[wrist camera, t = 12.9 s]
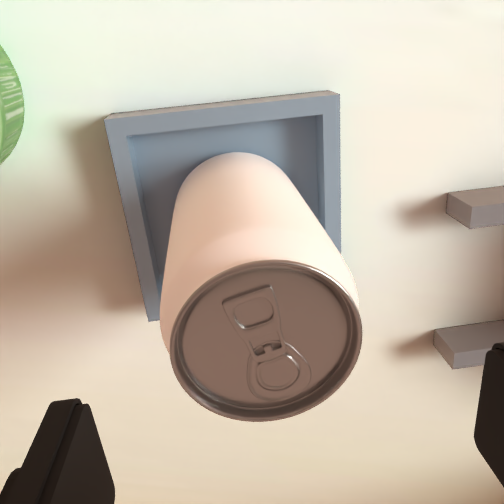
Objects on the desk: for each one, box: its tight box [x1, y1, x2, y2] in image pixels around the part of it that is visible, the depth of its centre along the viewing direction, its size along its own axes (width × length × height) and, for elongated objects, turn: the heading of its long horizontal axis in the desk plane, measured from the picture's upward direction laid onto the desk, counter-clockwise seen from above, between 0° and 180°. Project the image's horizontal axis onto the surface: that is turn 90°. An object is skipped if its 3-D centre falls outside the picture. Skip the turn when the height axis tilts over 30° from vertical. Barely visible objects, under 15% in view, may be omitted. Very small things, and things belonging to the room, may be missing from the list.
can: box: [160, 152, 362, 422], centre depth 18 cm, size 6×6×12 cm
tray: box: [104, 90, 341, 322], centre depth 23 cm, size 11×11×2 cm
